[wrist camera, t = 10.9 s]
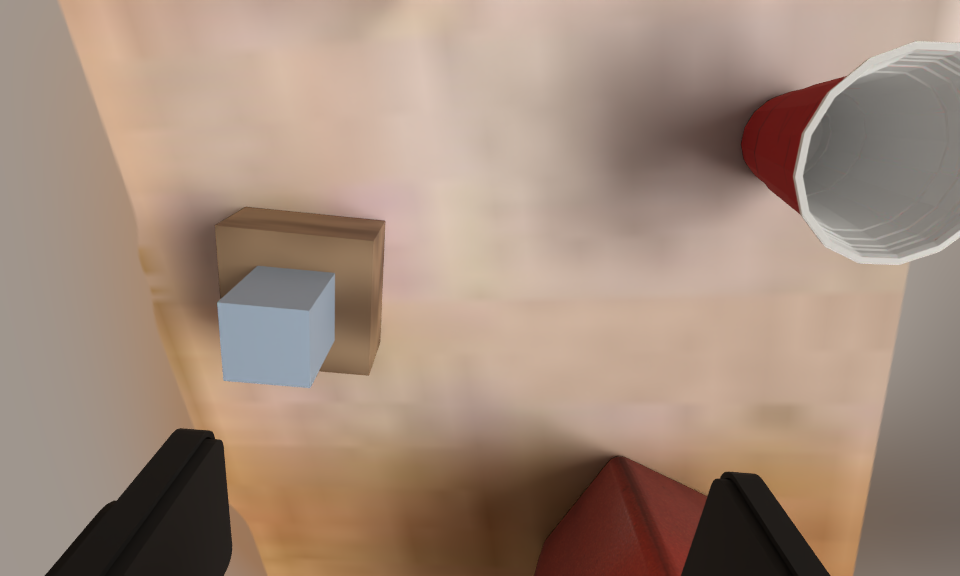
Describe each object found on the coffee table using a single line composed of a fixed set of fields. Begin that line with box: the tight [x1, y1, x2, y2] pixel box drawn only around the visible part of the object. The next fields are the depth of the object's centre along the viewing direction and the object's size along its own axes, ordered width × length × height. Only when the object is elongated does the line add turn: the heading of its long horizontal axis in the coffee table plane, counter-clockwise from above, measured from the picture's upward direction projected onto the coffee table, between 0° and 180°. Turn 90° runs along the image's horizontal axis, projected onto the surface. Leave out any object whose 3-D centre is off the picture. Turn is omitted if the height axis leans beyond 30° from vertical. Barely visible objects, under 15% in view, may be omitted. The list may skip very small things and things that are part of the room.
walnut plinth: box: [215, 207, 385, 375], centre depth 38 cm, size 10×10×5 cm
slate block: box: [217, 266, 335, 388], centre depth 33 cm, size 5×5×6 cm
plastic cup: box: [741, 41, 960, 265], centre depth 32 cm, size 11×11×12 cm
